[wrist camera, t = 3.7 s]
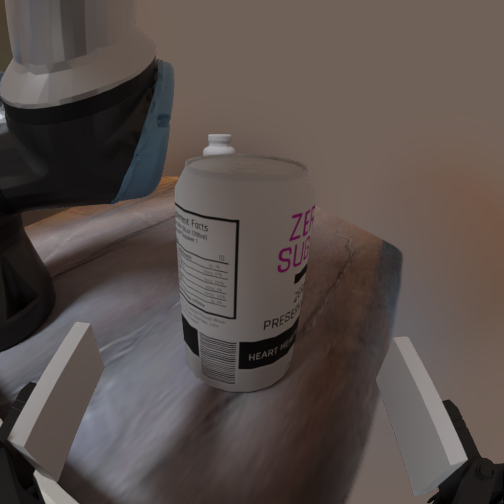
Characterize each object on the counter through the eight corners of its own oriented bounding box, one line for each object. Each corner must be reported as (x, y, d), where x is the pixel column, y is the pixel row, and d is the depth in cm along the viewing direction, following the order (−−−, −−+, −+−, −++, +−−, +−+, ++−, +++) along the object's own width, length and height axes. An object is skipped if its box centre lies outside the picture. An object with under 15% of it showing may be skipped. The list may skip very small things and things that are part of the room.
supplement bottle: (240, 195, 66) (243, 135, 60) (218, 201, 61) (220, 136, 56) (218, 189, 70) (219, 133, 64) (196, 195, 65) (196, 134, 59)
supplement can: (191, 325, 27) (185, 151, 21) (283, 327, 28) (303, 156, 21) (180, 396, 20) (158, 176, 14) (297, 396, 21) (338, 182, 14)
